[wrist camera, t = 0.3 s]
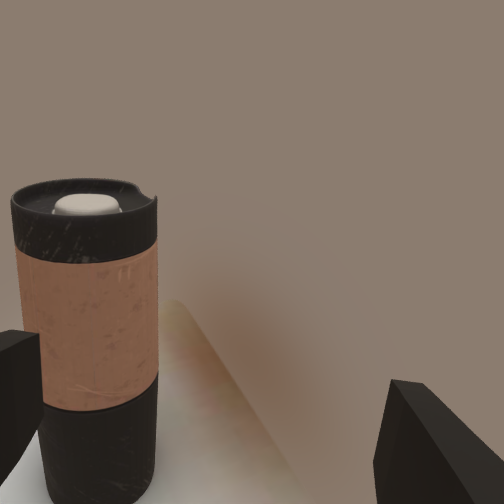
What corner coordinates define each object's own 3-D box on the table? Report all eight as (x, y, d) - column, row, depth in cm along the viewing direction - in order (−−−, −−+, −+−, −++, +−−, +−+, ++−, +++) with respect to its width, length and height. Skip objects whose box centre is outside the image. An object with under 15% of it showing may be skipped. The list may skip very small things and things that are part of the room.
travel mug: (19, 512, 30) (-27, 206, 22) (74, 426, 37) (53, 172, 30) (137, 531, 29) (131, 224, 22) (170, 440, 37) (174, 184, 29)
